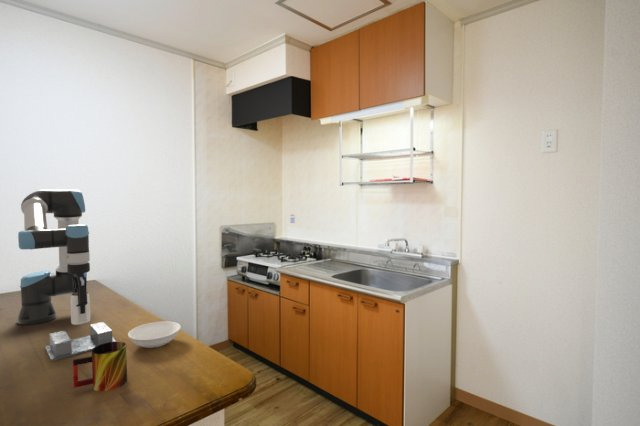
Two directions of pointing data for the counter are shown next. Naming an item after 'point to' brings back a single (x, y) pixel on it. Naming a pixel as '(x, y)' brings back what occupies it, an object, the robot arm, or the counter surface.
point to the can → (75, 309)
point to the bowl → (154, 334)
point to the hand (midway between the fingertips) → (80, 319)
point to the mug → (104, 367)
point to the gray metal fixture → (78, 342)
